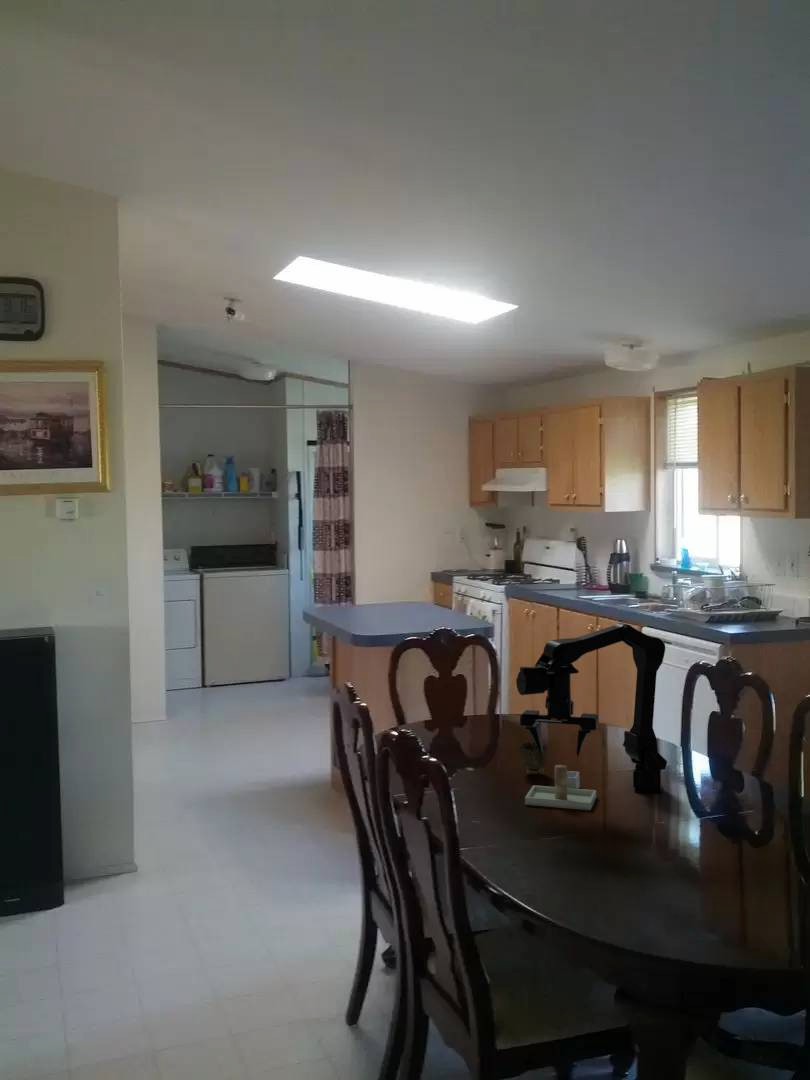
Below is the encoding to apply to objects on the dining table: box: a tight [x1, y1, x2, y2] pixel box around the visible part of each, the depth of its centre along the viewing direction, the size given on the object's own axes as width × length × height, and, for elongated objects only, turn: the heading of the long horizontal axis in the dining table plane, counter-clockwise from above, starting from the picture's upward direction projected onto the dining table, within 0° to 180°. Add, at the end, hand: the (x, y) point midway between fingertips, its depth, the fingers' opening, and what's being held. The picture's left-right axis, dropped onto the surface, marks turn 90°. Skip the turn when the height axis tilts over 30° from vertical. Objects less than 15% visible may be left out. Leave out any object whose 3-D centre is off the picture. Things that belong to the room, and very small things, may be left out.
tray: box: [524, 785, 597, 811], centre depth 232 cm, size 16×10×2 cm, turn 71°
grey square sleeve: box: [567, 770, 581, 789], centre depth 241 cm, size 6×6×4 cm
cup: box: [519, 741, 548, 776], centre depth 255 cm, size 8×7×8 cm
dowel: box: [554, 764, 568, 800], centre depth 232 cm, size 3×3×8 cm
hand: (559, 754), depth 231 cm, fingers open, 9 cm apart
